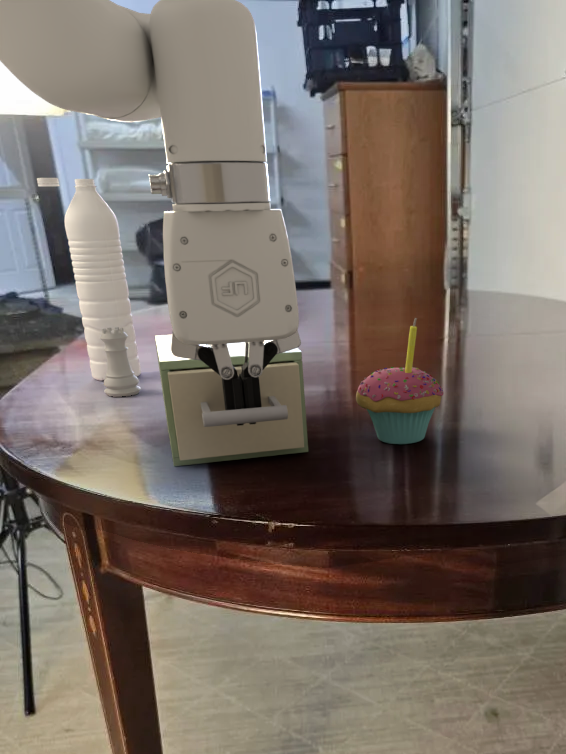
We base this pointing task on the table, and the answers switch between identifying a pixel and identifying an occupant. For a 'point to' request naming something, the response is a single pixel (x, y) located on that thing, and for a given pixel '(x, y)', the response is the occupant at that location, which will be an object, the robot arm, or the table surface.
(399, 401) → the cupcake
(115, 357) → the rook chess piece
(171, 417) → the cabinet
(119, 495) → the table surface
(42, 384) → the table surface
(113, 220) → the water bottle
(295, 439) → the drawer
